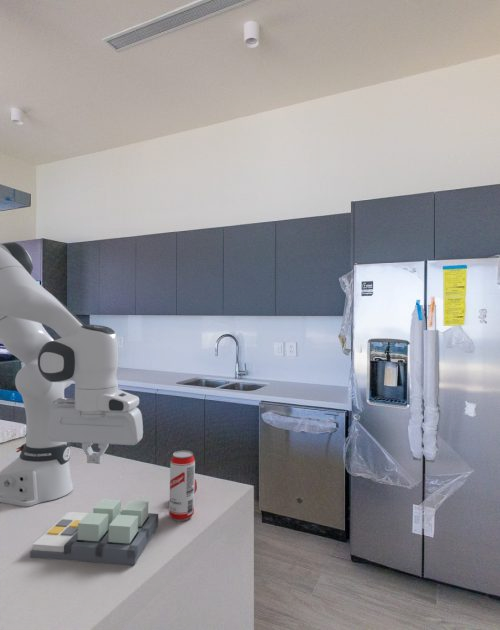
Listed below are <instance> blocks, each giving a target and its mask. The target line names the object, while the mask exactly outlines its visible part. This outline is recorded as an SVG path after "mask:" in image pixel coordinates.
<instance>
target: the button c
mask: <svg viewBox="0 0 500 630" xmlns="http://www.w3.org/2000/svg"><path fill="white" fill-rule="evenodd" d="M137 532H138V516H132V515H117V516H116V518H115V519H114V520H113V521H112V522H111V523H110V525H109V541H108V542H115V543H129V544H130V542H131V541H132V539H133V538H134V536H135V535H136V533H137Z"/></svg>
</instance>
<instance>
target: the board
mask: <svg viewBox="0 0 500 630" xmlns="http://www.w3.org/2000/svg"><path fill="white" fill-rule="evenodd" d="M88 513H89V512H77V511H68V512H67V513H66V514H65V515H63V517H61V519H60V520H58V521H57V522H56V523H55V524H54V525H53V526H52V527H50V528H49V529H48V530H47V531H46V532H45V533H43V534H42V535H41V537H39V538H38V539H37V540H36V541H35V542H34V543H33V544H32V549H31V550H30V551H29V558H35V559H46V560H47V559H48V560H49V559H50V560H61V561H73V562H87V563H99V564H101V563H102V564H113V565H127V566H136V564H137V562H138V560H139V559H140V557H141V555H142V553H144V550H145V548H146V547H147V545H148V543H149V542H150V540H151V539H152V537H153V535H154V533H156V530H157V529H158V527H159V513H150V512H148V517H147V519H146V520H145V522H144V523H143V525H142V526H138V532H137V533H136V535H135V536H134V538H133V539H132V541H131V542H130V544H129V543H115V542H108V541H109V525H110V524H108V530H107V532H106V533H105V534H104V535H103V536H102V538H101V539H100V540H99V541H86V540H78V523H79V522H80V521H81V520H82V519H83V518H84V517H85V516H86V515H87V514H88ZM121 515H122V511H121Z"/></svg>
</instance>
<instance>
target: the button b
mask: <svg viewBox="0 0 500 630" xmlns="http://www.w3.org/2000/svg"><path fill="white" fill-rule="evenodd" d="M121 507H122V499H112V498H110V499H109V498H102V499H100V500H99V502H97V504H96V505H94V506H93V509H92V510H93V511H92V513H101V514H108V524H110V523H111V522H112V521H113V520H114V519H115V518H116V516H117V515H121V512H122V510H121V509H122V508H121Z"/></svg>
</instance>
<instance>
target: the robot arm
mask: <svg viewBox="0 0 500 630" xmlns="http://www.w3.org/2000/svg"><path fill="white" fill-rule="evenodd" d="M32 260H33V259H32V257H31V255H30V254H29V253H28V251H27V249H25V248H24V247H23V246H22V245H21V244H20V243H17V242H5V243H2V244H0V342H1V343H2V344H3V347H4V348H5V350H6V351H7V352H8V353H9V354H11V355H13V356H14V357H15V358H17V359H18V360H20V362H21V363H22V364H23V366H22V367H21V368H20V369H19V370H18V371H17V373H16V376H15V380H14V383H15V384H14V385H15V388H16V390H17V391H18V393H19V394H20V395H21V398H22V401H23V402H22V403H23V406H24V410H25V419H26V420H25V421H26V422H25V423H26V428H25V430H26V431H25V432H26V433H25V443H23V444H21V446H19V447H17V448H16V451H15V452H16V453H18V452H20V454H19V457H17V458H15V460H14V461H12V462H10V463H9V464H8V465H7V466H5V467H3V469H2V470H1V471H0V503H4V504H9V505H14V506H20V507H30V506H33V505H37V504H40V503H44V502H49V501H52V500H56V499H60V498H62V497H64V496H66V495H69V494H70V493H71V492H72V491H73V490H74V488H75V487H74V482H73V479H72V475H71V467H70V458H71V443H75V444H76V443H77V444H78V443H79V444H81V448H82V451H83V453H84V454H85V455H86V464H99V465H100V464H102V463H103V462H104V454H105V452H106V451H107V450H108V448H109V445H118V446H119V445H122V446H135V445H137V444H138V443H139V442H140V441H141V440H142V439H143V435H144V425H143V424H144V423H143V415H142V411H141V410H140V409H139V408H138V406H139V404H140V398H139V396H138V395H135V394H133V393H129V392H127V391H124V390H122V389H119V381H118V378H117V372H118V368H119V358H120V356H119V355H120V354H119V353H120V352H119V340H118V337H117V336H118V335H117V333H116V332H115V330H114V329H112V328H111V327H108V326H104V325H101V324H100V325H98V324H85V323H84V322H83V321H82V320H81V319H80V318H79V317H78V316H77V315H76V314H75V313H74V312H73V311H72V310H71V309H69V307H67V306H66V304H64V303H63V302H62V301H61V300H59V299H58V298H57V297H56V296H54V295H53V294H52V293H51V292H49V291H48V290H47V289H46V288H44V286H42V285H41V284H40V283H39V282H38V281H37V280H36V279H35V278H34V277H33V276H32V272H33V269H34V266H33V261H32ZM43 325H44V326H46V327H48V328H51V329H52V330H53V331H55V333H56V334H57V335H58V336H59V337H60V338H58V339H54V338H53V337H52V336H51V335H50V334H49V332H48V331H47V330H46V329H45V327H44V326H43ZM73 383H74V397H72V398H71V397H68V398H66V397H65V389H67V388H69V387H70V386H71V385H72V384H73ZM93 444H98V445H97V447H98V449H100V450H99V451H98V452H94V450H93V448H92V446H93Z"/></svg>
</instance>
